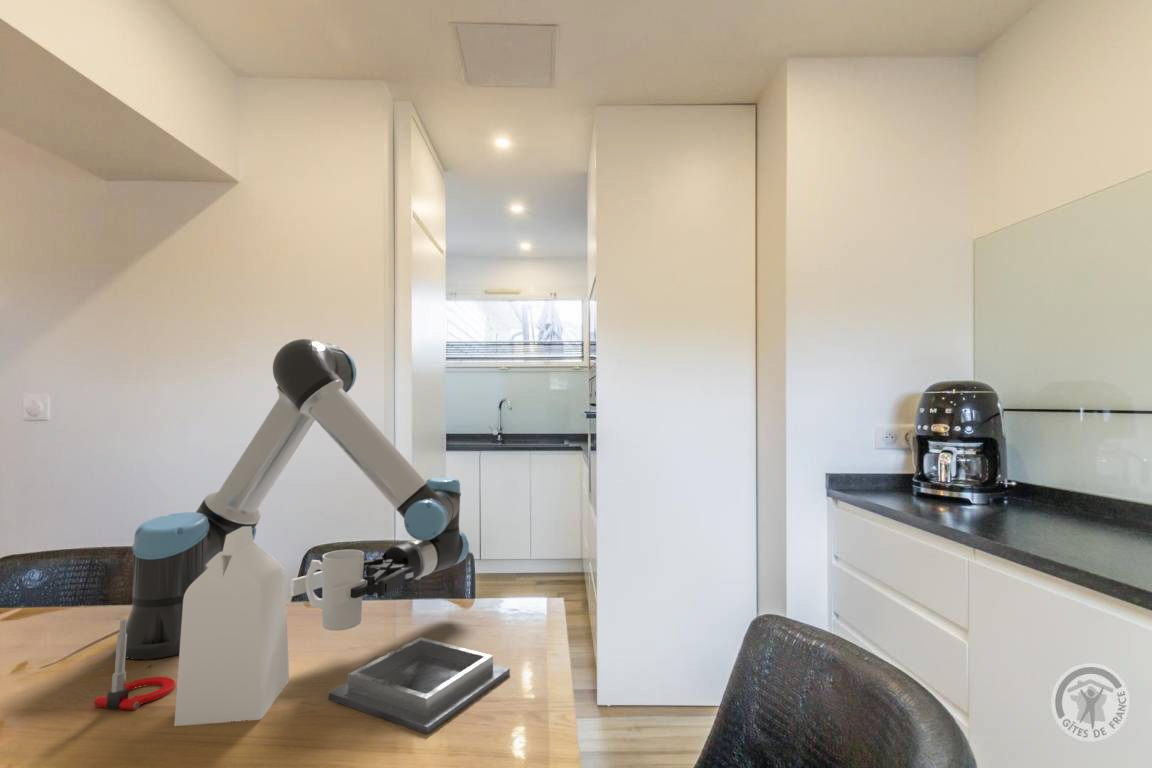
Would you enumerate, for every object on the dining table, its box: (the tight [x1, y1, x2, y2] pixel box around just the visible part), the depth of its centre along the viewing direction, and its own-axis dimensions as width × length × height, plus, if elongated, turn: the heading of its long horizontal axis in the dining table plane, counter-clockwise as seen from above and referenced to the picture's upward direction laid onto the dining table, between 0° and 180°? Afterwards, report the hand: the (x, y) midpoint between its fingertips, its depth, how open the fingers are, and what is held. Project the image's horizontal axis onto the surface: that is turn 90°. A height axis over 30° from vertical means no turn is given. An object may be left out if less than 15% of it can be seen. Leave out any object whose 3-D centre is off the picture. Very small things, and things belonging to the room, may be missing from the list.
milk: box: [173, 526, 290, 727], centre depth 89 cm, size 12×12×26 cm
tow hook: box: [93, 618, 176, 711], centre depth 91 cm, size 8×13×9 cm
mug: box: [305, 549, 365, 632], centre depth 101 cm, size 10×7×12 cm, turn 87°
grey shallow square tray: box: [327, 636, 511, 735], centre depth 94 cm, size 20×20×4 cm
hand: (311, 592), depth 97 cm, fingers closed on mug, 9 cm apart
